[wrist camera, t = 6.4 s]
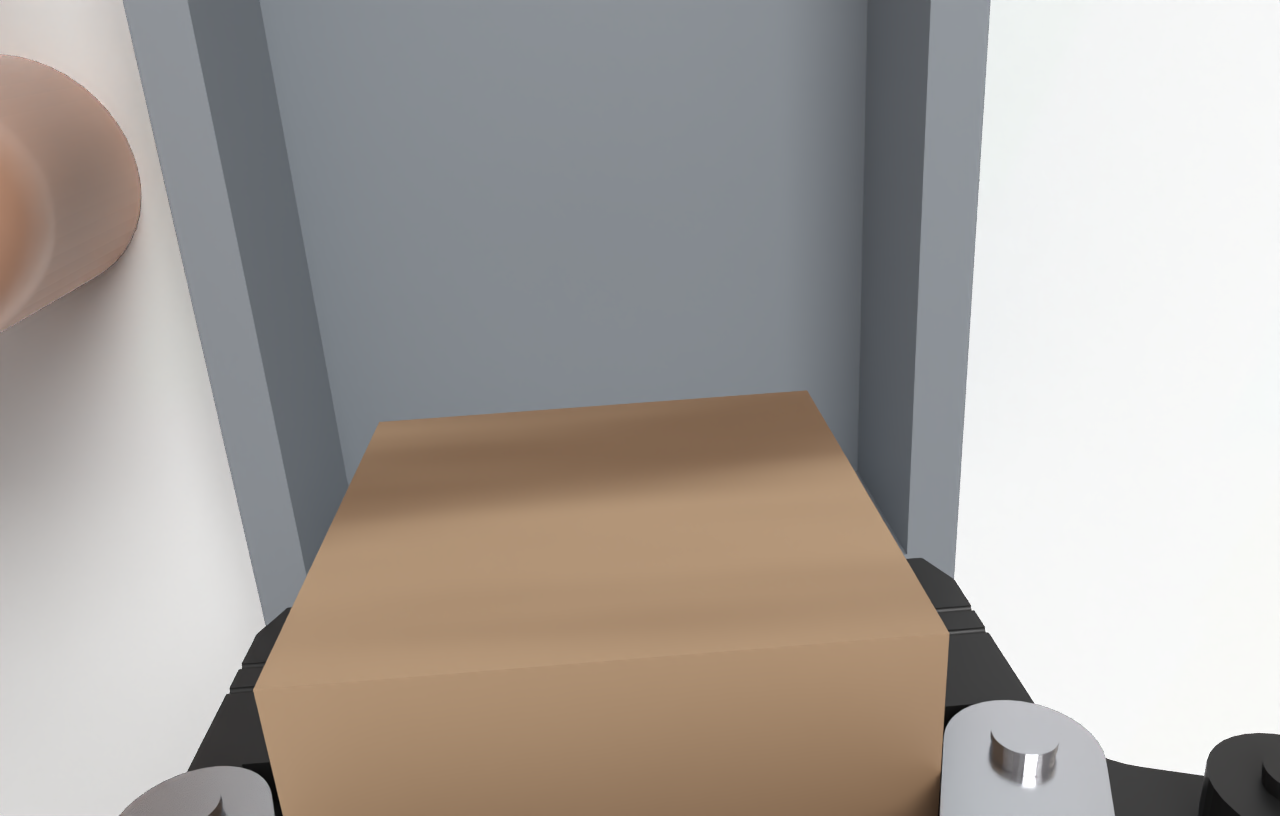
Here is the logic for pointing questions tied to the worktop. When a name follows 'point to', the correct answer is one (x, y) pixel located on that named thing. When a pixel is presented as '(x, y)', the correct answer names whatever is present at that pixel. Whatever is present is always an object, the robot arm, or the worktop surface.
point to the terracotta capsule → (58, 188)
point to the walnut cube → (609, 625)
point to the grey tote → (569, 225)
